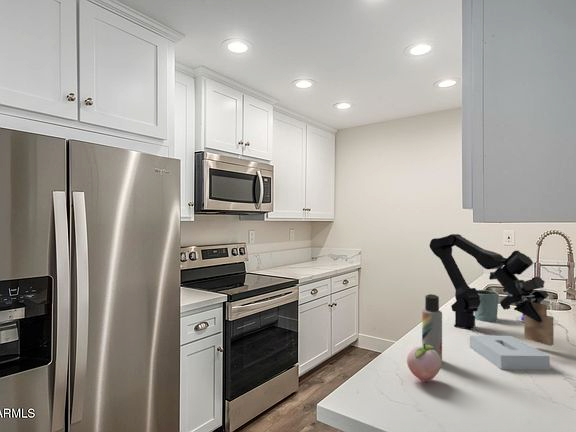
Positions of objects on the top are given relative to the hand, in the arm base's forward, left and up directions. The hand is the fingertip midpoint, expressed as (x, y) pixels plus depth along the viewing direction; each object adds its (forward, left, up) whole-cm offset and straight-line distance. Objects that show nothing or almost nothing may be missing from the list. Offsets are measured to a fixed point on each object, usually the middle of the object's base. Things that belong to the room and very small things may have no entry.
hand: (543, 321), depth 117 cm
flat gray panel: (-8, -14, -10) cm, 19 cm away
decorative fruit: (-22, -48, -10) cm, 54 cm away
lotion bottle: (-25, -32, -10) cm, 42 cm away
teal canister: (-23, +31, -10) cm, 40 cm away
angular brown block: (-1, +1, -7) cm, 7 cm away
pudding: (-7, +41, -10) cm, 43 cm away
